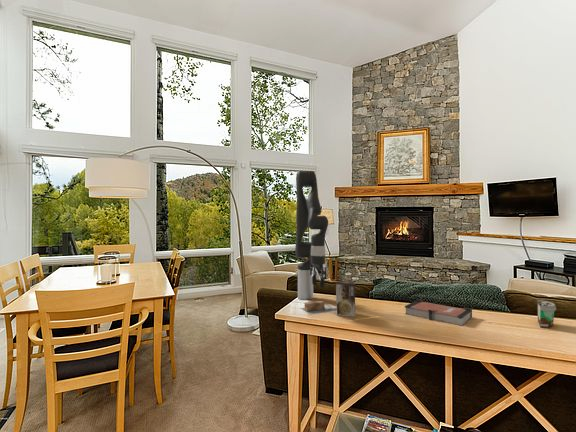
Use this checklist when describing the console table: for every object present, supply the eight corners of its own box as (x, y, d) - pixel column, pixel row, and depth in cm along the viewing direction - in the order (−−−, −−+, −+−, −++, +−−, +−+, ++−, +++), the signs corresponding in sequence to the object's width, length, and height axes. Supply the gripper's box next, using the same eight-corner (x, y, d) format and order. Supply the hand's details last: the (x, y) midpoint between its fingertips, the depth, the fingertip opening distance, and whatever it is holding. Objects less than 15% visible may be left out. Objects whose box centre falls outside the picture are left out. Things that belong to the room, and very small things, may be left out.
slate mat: (300, 309, 174) (300, 308, 174) (330, 305, 181) (330, 304, 181) (310, 315, 163) (310, 314, 163) (341, 311, 170) (341, 310, 170)
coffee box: (354, 313, 167) (354, 281, 167) (355, 317, 160) (355, 284, 160) (335, 313, 168) (335, 281, 168) (336, 316, 161) (336, 283, 161)
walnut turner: (308, 313, 166) (308, 305, 166) (302, 309, 172) (302, 301, 172) (336, 309, 172) (336, 301, 172) (330, 306, 178) (330, 298, 178)
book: (404, 315, 165) (404, 305, 165) (417, 308, 178) (417, 298, 178) (461, 327, 148) (461, 316, 147) (472, 318, 160) (472, 308, 160)
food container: (558, 331, 142) (558, 307, 142) (540, 328, 145) (540, 305, 145) (554, 323, 152) (554, 301, 152) (537, 320, 155) (537, 299, 155)
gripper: (305, 253, 177) (305, 283, 177) (317, 256, 164) (317, 289, 163) (318, 252, 180) (318, 282, 179) (331, 255, 166) (331, 288, 166)
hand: (317, 285), depth 171 cm, fingers open, 8 cm apart
